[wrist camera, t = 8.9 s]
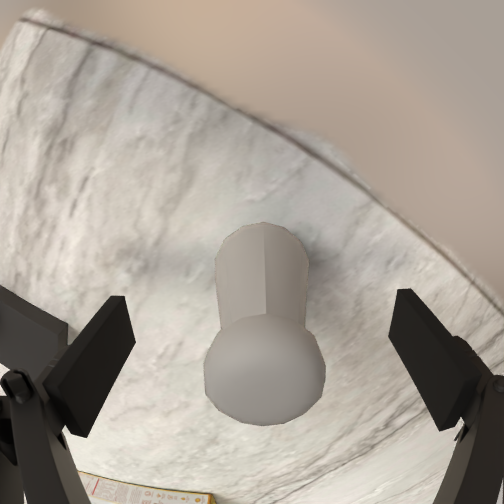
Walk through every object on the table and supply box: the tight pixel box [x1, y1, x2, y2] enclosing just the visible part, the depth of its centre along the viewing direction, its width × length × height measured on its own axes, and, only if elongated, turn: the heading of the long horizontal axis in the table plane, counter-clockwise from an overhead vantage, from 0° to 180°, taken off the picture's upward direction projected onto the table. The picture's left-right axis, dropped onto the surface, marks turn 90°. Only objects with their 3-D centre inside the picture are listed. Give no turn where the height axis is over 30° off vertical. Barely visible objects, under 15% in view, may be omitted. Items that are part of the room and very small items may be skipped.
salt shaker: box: [204, 222, 326, 426], centre depth 15 cm, size 6×6×13 cm
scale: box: [0, 285, 68, 383], centre depth 23 cm, size 14×10×4 cm
